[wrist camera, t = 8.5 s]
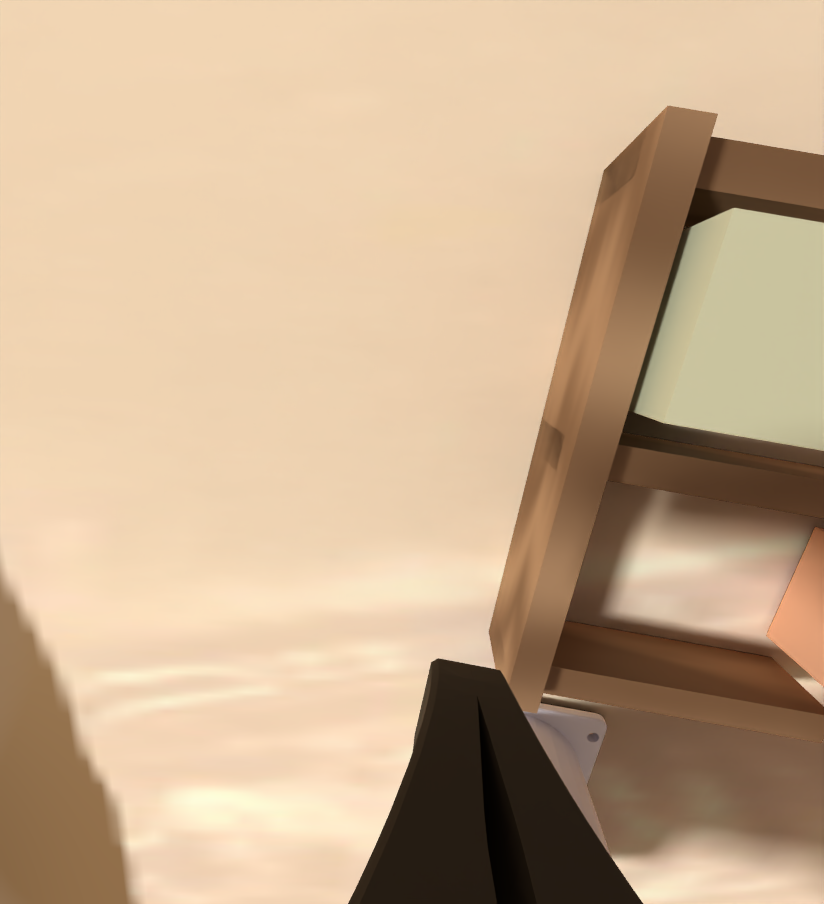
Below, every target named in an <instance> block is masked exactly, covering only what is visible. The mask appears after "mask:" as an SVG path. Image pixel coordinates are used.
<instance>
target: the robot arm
mask: <svg viewBox="0 0 824 904" xmlns="http://www.w3.org/2000/svg"><path fill="white" fill-rule="evenodd" d="M606 731H607V725H606V722H605V720H604V718H603V717H602V716H601V715H600V714H597V713H592V712H587V711H581V710H576V709H570V708H564V707H559V706H553V705H548V704H542V703H540V705H539V708H538V712H537V714H536V713H531V712H525V711H522V709H521V707H520V705H519V703H518V701H517V699H516V698H515V696H514V694H513V692H512V690H511V688H510V686H509V684H508V683H507V681H506V679H505V677H504V675H503V674H502V672H501V671H500V670H496V669H491V668H486V667H480V666H475V665H470V664H465V663H459V662H454V661H449V660H443V659H436V660H435V661H433V662H431V666H430V670H429V675H428V679H427V684H426V688H425V692H424V697H423V701H422V705H421V710H420V714H419V719H418V723H417V727H416V732H415V737H414V747H413V753H412V756H411V759H410V762H409V765H408V767H407V770H406V772H405V775H404V778H403V780H402V783H401V785H400V788H399V790H398V793H397V796H396V798H395V801H394V803H393V806H392V808H391V811H390V813H389V816H388V818H387V820H386V823H385V825H384V827H383V830H382V832H381V834H380V837H379V839H378V841H377V843H376V846H375V848H374V850H373V852H372V855H371V857H370V859H369V861H368V863H367V865H366V868H365V870H364V872H363V874H362V876H361V878H360V881H359V883H358V885H357V887H356V889H355V891H354V893H353V895H352V897H351V899H350V901H349V903H348V904H643V903H642V902H641V900H640V899H639V897H638V896H637V894H636V893H635V891H634V890H633V889H632V887H631V886H630V884H629V883H628V881H627V880H626V878H625V877H624V876H623V874H622V873H621V871H620V870H619V868H618V867H617V865H616V864H615V862H614V861H613V859H612V858H611V855H610V852H609V849H608V846H607V843H606V840H605V837H604V834H603V831H602V828H601V825H600V822H599V820H598V817H597V814H596V811H595V808H594V805H593V802H592V799H591V796H590V793H589V790H588V787H587V784H588V781H589V778H590V775H591V772H592V770H593V767H594V764H595V761H596V758H597V756H598V753H599V750H600V747H601V745H602V742H603V739H604V736H605V733H606ZM590 733H593V734H590Z"/></svg>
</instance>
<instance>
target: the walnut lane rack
mask: <svg viewBox="0 0 824 904" xmlns="http://www.w3.org/2000/svg"><path fill="white" fill-rule="evenodd" d="M717 115H718V114H715V113H709V112H703V111H697V110H691V109H685V108H679V107H673V106H667V107H666V108H665V109H664V110H663V111H662V112H661V113H660V114H659V115H658V116H657V117H656V118H655V119H654V120H653V121H652V122H651V123H650V124H649V125H648V126H647V127H646V128H645V129H644V130H643V131H642V132H641V133H640V134H639V136H638V137H637V138H636V139H635V140H634V141H633V142H632V143H631V144H630V145H629V146H628V147H627V148H626V149H625V150H624V151H623V152H622V153H621V154H620V155H619V156H618V157H617V158H616V159H615V160H614V161H613V162H612V163H611V164H610V165H609V166H608V167H607V168H606V169H605V170H604V173H603V177H602V181H601V185H600V189H599V193H598V197H597V201H596V205H595V209H594V213H593V217H592V221H591V225H590V229H589V233H588V237H587V241H586V245H585V249H584V253H583V257H582V261H581V265H580V269H579V273H578V277H577V281H576V285H575V289H574V293H573V297H572V301H571V305H570V309H569V313H568V317H567V321H566V325H565V329H564V333H563V337H562V341H561V345H560V349H559V353H558V357H557V361H556V365H555V369H554V373H553V377H552V381H551V385H550V389H549V393H548V397H547V401H546V405H545V409H544V413H543V417H542V421H541V425H540V429H539V433H538V437H537V441H536V445H535V449H534V453H533V457H532V461H531V465H530V469H529V473H528V477H527V481H526V485H525V489H524V493H523V497H522V501H521V505H520V509H519V513H518V517H517V521H516V525H515V529H514V533H513V537H512V541H511V545H510V549H509V553H508V557H507V561H506V565H505V569H504V573H503V577H502V581H501V585H500V589H499V593H498V597H497V601H496V605H495V609H494V613H493V617H492V621H491V625H490V629H489V635H490V640H491V646H492V651H493V657H494V662H495V668H496V670H500V671H501V672H502V674H503V675H504V677H505V679H506V681H507V683H508V684H509V686H510V688H511V690H512V692H513V694H514V696H515V698H516V699H517V701H518V703H519V705H520V707H521V709H522V711H525V712H531V713H536V714H537V712H538V708H539V705H540V702H541V698H542V695H543V693H546V694H551V695H557V696H562V697H568V698H574V699H579V700H585V701H590V702H596V703H601V704H607V705H612V706H618V707H623V708H629V709H635V710H640V711H646V712H651V713H657V714H662V715H668V716H673V717H679V718H685V719H690V720H696V721H701V722H707V723H712V724H718V725H723V726H729V727H734V728H740V729H746V730H751V731H757V732H762V733H768V734H773V735H779V736H784V737H790V738H795V739H801V740H807V741H812V742H818V743H821V742H822V741H823V739H824V707H823V706H822V705H821V704H820V703H819V702H818V701H817V700H816V699H815V698H814V697H813V696H812V695H811V694H810V693H809V692H808V691H806V690H805V689H804V688H803V687H802V686H801V685H800V684H799V683H798V682H797V681H796V680H795V679H794V678H793V677H792V676H791V675H790V674H788V673H787V672H786V671H785V670H784V669H783V668H782V667H781V666H780V665H779V664H778V663H777V662H776V661H775V660H774V659H773V658H772V657H766V656H760V655H755V654H749V653H744V652H738V651H732V650H727V649H721V648H716V647H710V646H704V645H699V644H693V643H688V642H682V641H676V640H671V639H665V638H660V637H654V636H648V635H643V634H637V633H632V632H626V631H620V630H615V629H609V628H604V627H598V626H592V625H587V624H581V623H576V622H570V621H565V619H566V616H567V612H568V609H569V606H570V602H571V599H572V596H573V592H574V589H575V586H576V582H577V579H578V576H579V572H580V569H581V566H582V562H583V559H584V556H585V553H586V549H587V546H588V543H589V539H590V536H591V533H592V529H593V526H594V523H595V519H596V516H597V513H598V509H599V506H600V503H601V500H602V496H603V493H604V490H605V486H606V483H607V481H613V482H619V483H624V484H630V485H636V486H641V487H647V488H653V489H658V490H664V491H670V492H676V493H681V494H687V495H693V496H698V497H704V498H710V499H716V500H721V501H727V502H733V503H738V504H744V505H750V506H756V507H761V508H767V509H773V510H778V511H784V512H790V513H796V514H801V515H807V516H813V517H818V518H824V467H819V466H813V465H807V464H801V463H796V462H790V461H784V460H778V459H773V458H767V457H761V456H755V455H750V454H744V453H738V452H732V451H727V450H721V449H715V448H709V447H704V446H698V445H692V444H686V443H681V442H675V441H669V440H663V439H658V438H652V437H646V436H640V435H635V434H629V433H623V432H622V430H623V427H624V423H625V420H626V417H627V413H628V410H629V407H630V403H631V400H632V397H633V393H634V390H635V387H636V384H637V380H638V377H639V374H640V370H641V367H642V364H643V360H644V357H645V354H646V350H647V347H648V344H649V340H650V337H651V334H652V331H653V327H654V324H655V321H656V317H657V314H658V311H659V307H660V304H661V301H662V297H663V294H664V291H665V287H666V284H667V281H668V278H669V274H670V271H671V268H672V264H673V261H674V258H675V254H676V251H677V248H678V244H679V241H680V238H681V234H682V231H683V228H684V226H690V227H692V226H694V225H696V224H698V223H701V222H703V221H705V220H707V219H710V218H712V217H714V216H716V215H719V214H721V213H723V212H725V211H728V210H730V209H732V208H739V209H745V210H751V211H757V212H763V213H768V214H774V215H780V216H786V217H792V218H798V219H804V220H810V221H816V222H822V223H824V155H819V154H813V153H807V152H801V151H795V150H789V149H783V148H777V147H771V146H765V145H759V144H753V143H747V142H741V141H735V140H729V139H723V138H717V137H711V135H712V132H713V128H714V125H715V122H716V118H717Z"/></svg>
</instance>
